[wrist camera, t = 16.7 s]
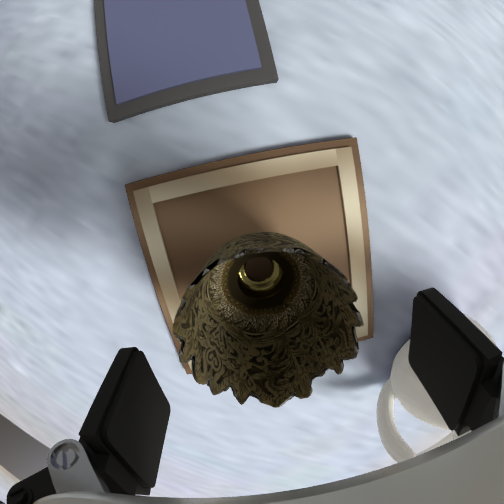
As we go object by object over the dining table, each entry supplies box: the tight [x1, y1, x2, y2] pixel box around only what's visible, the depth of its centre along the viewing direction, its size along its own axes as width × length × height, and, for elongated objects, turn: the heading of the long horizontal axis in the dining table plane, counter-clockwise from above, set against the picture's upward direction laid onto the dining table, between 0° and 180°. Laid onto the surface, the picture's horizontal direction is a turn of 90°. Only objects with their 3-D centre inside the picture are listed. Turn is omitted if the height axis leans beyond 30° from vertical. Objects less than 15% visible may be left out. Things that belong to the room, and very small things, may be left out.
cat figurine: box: [377, 314, 496, 463], centre depth 16 cm, size 9×12×15 cm
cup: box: [173, 232, 364, 407], centre depth 15 cm, size 8×7×8 cm
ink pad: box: [94, 0, 278, 123], centre depth 14 cm, size 10×10×1 cm
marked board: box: [125, 138, 373, 374], centre depth 19 cm, size 14×14×1 cm
